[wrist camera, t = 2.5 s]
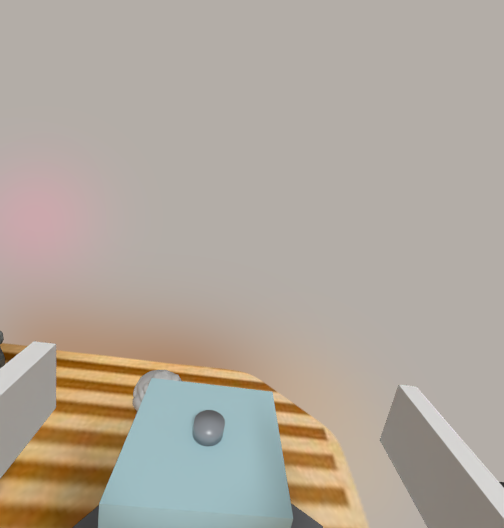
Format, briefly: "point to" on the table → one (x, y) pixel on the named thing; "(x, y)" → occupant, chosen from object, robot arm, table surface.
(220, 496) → the cover tub
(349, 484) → the table surface
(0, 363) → the mortar and pestle
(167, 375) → the grey lumpy rounded piece
